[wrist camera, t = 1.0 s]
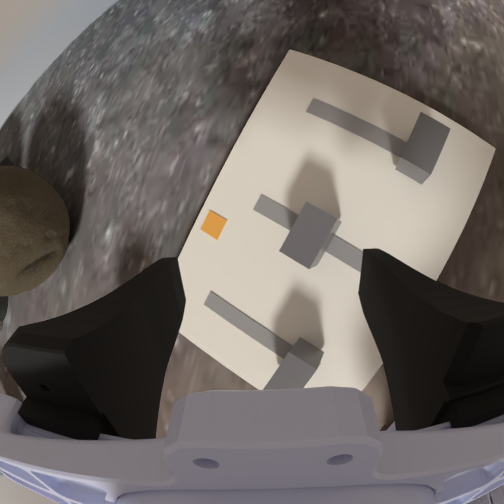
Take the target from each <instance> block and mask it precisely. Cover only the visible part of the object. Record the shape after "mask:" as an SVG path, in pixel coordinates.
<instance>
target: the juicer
mask: <svg viewBox="0 0 504 504" xmlns="http://www.w3.org/2000/svg"><path fill="white" fill-rule="evenodd" d="M0 166H14V165H13V163H12V162H11V161H10V160H9V158H8V157H6V158H5V159H4V160H3V161H2V162H1V163H0ZM7 307H8V296H0V330H1V331H2V326H3V320H4V318H5V316H6V313H7Z"/></svg>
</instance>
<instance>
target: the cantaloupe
mask: <svg viewBox="0 0 504 504" xmlns="http://www.w3.org/2000/svg"><path fill="white" fill-rule="evenodd" d="M69 233H70V219H69V213H68V209H67V207H66V205H65V203H64V201H63V199H62V198H61V196H60V195H59V193H58V192H57V191H56V190H55V189H54V187H53V186H52V185H51V184H49V183H48V182H47V181H46V180H44V179H43V178H42V177H40V176H39V175H37V174H36V173H34V172H32V171H30V170H27V169H25V168H21V167H16V166H0V296H12V295H17V294H19V293H22V292H25V291H28V290H31V289H33V288H35V287H37V286H38V285H40V284H41V283H43V282H44V281H45V280H46V279H47V278H48V277H49V276H50V275H51V274H52V273H53V272H54V271H55V270H56V268H57V267H58V265H59V264H60V262H61V260H62V259H63V257H64V255H65V252H66V250H67V246H68V239H69Z"/></svg>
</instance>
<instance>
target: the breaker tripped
mask: <svg viewBox="0 0 504 504" xmlns="http://www.w3.org/2000/svg"><path fill="white" fill-rule="evenodd" d="M340 224H341V221H340V220H339V219H337V218H336V217H334V216H332V215H330V214H328V213H327V212H325V211H323V210H321V209H319V208H318V207H316V206H314V205H312V204H310V203H309V202H307V201H306V202H305V204H304V206H303V208H302V210H301V212H300V213H299V215H298V217H297V219H296V221H295V223H294V225H293V226H292V228H291V230H290V232H289V234H288V235H287V237H286V239H285V241H284V243H283V245H282V246H281V248H280V250H279V251H280V252H281V253H283V254H285V255H286V256H288V257H290V258H291V259H293V260H294V261H296V262H298V263H299V264H301V265H303V266H304V267H306V268H308V269H311V268H313V267H315V266H317V265H318V263H319V262H320V260H321V258H322V256H323V255H324V253H325V251H326V249H327V248H328V246H329V244H330V242H331V240H332V239H333V237H334V235H335V233H336V231H337V230H338V228H339V226H340Z"/></svg>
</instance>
